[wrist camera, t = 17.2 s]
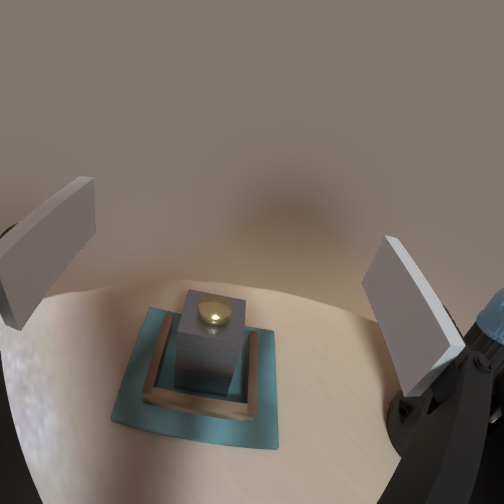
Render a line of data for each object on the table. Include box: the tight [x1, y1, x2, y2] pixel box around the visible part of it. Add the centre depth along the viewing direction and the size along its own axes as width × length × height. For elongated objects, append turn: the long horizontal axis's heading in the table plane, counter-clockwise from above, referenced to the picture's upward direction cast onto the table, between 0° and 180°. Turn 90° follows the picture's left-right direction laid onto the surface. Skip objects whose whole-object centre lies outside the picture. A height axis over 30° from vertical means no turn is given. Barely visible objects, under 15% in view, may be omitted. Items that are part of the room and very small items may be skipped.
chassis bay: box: [111, 308, 279, 450], centre depth 33 cm, size 18×18×3 cm
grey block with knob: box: [174, 290, 246, 397], centre depth 31 cm, size 6×6×11 cm
